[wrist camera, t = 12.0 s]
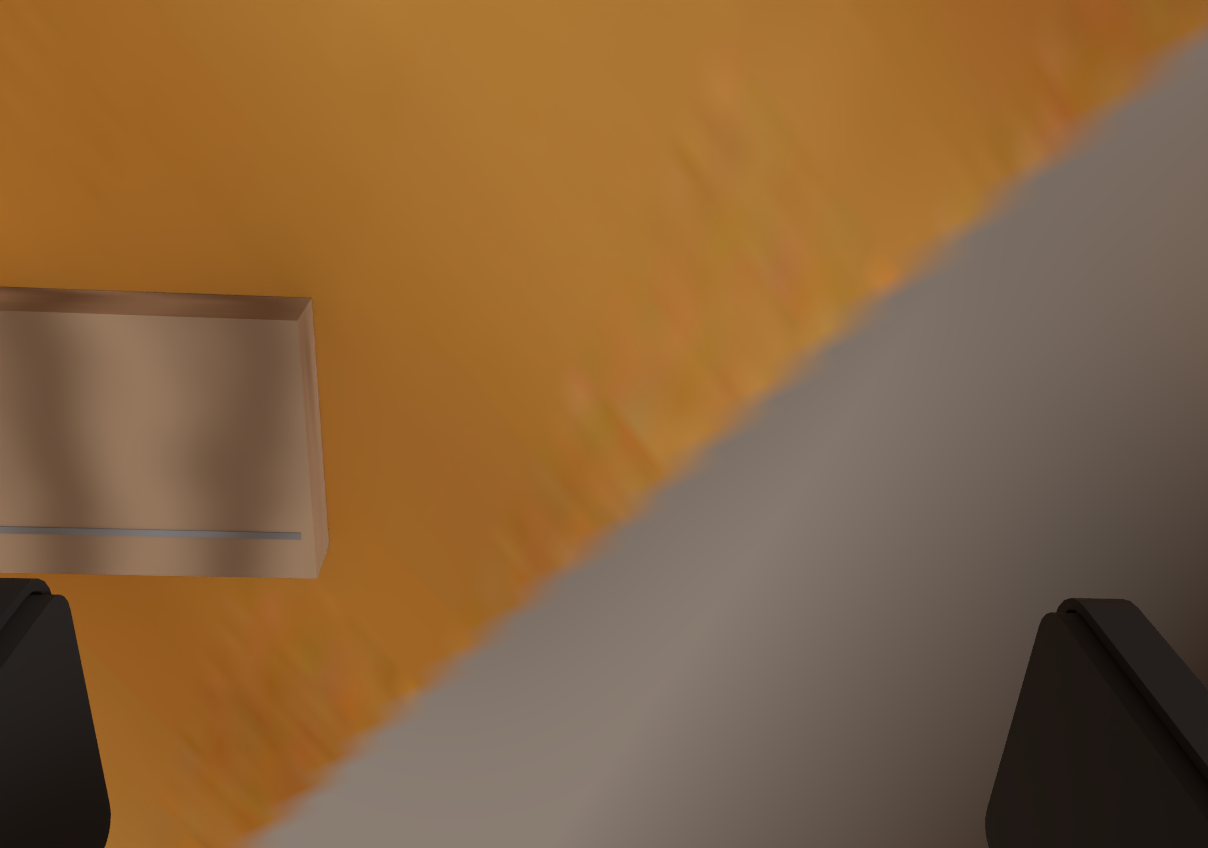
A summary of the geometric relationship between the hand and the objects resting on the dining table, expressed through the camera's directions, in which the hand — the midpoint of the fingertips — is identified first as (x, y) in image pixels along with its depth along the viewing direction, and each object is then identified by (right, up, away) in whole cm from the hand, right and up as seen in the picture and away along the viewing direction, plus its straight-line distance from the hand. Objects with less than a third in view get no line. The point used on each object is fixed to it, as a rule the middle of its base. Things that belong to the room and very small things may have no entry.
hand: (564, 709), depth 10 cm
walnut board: (-21, +3, +31) cm, 38 cm away
